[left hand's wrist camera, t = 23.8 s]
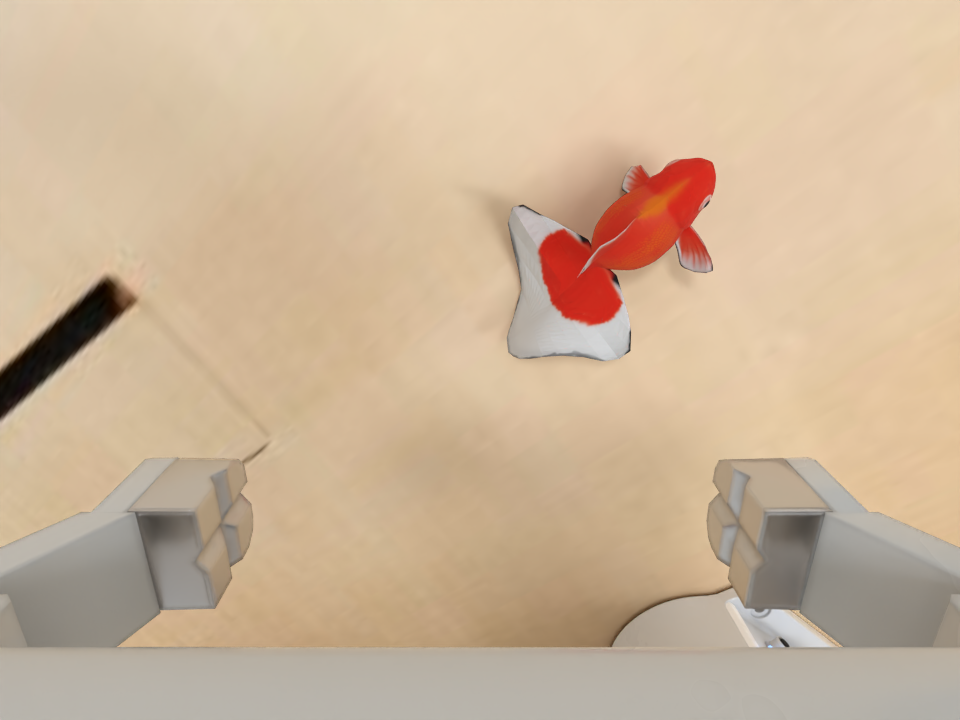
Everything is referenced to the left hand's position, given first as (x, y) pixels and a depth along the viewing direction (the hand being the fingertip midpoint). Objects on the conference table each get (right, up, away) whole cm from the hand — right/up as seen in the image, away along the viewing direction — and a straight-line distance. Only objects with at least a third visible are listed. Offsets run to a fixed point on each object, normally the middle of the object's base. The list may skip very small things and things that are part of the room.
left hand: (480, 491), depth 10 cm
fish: (+7, +9, +29) cm, 31 cm away
